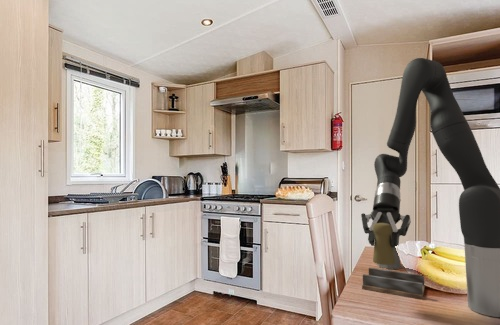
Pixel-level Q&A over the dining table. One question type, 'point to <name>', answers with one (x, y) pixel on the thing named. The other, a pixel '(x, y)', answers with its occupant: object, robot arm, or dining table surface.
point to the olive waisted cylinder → (383, 244)
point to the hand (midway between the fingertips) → (382, 244)
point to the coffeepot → (397, 259)
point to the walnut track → (394, 283)
